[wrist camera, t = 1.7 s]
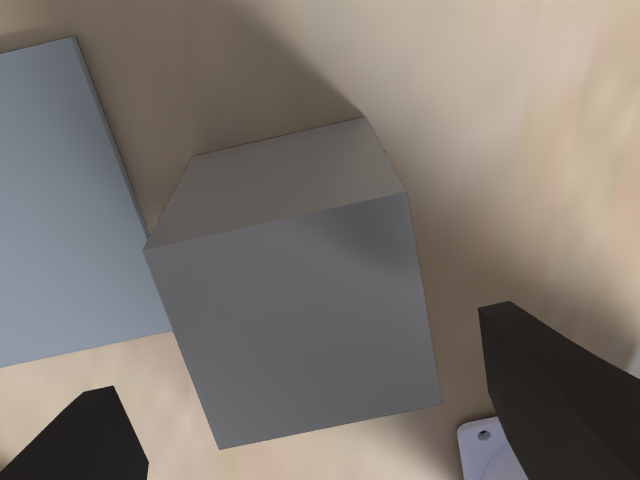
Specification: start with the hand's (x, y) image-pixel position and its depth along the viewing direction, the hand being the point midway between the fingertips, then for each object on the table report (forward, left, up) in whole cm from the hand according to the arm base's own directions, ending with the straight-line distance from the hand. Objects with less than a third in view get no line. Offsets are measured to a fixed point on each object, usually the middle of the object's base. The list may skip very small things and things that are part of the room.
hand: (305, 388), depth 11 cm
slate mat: (+10, -2, -9) cm, 14 cm away
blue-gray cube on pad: (0, 0, -9) cm, 9 cm away
